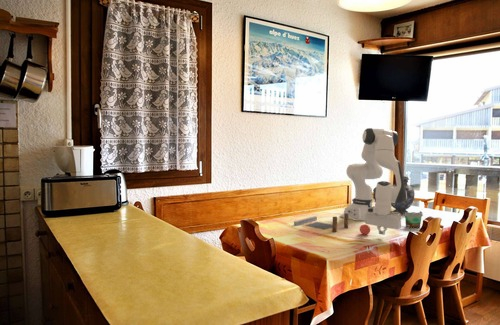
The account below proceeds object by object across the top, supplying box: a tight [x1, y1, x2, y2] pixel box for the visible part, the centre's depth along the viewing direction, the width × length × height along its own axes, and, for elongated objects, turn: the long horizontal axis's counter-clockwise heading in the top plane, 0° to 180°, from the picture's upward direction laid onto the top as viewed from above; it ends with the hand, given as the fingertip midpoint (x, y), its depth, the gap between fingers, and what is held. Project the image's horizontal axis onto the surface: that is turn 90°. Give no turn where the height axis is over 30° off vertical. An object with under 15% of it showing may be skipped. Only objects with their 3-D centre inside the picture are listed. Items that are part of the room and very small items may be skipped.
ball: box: [359, 223, 371, 236], centre depth 221 cm, size 6×6×6 cm
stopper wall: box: [293, 215, 318, 227], centre depth 249 cm, size 2×24×2 cm, turn 138°
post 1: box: [331, 216, 338, 233], centre depth 226 cm, size 3×3×9 cm
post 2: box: [343, 212, 350, 229], centre depth 237 cm, size 3×3×9 cm
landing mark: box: [305, 221, 332, 230], centre depth 241 cm, size 14×14×1 cm
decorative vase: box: [391, 175, 415, 214], centre depth 292 cm, size 21×19×28 cm
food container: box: [404, 210, 424, 229], centre depth 241 cm, size 12×6×10 cm, turn 105°
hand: (381, 234), depth 214 cm, fingers closed
